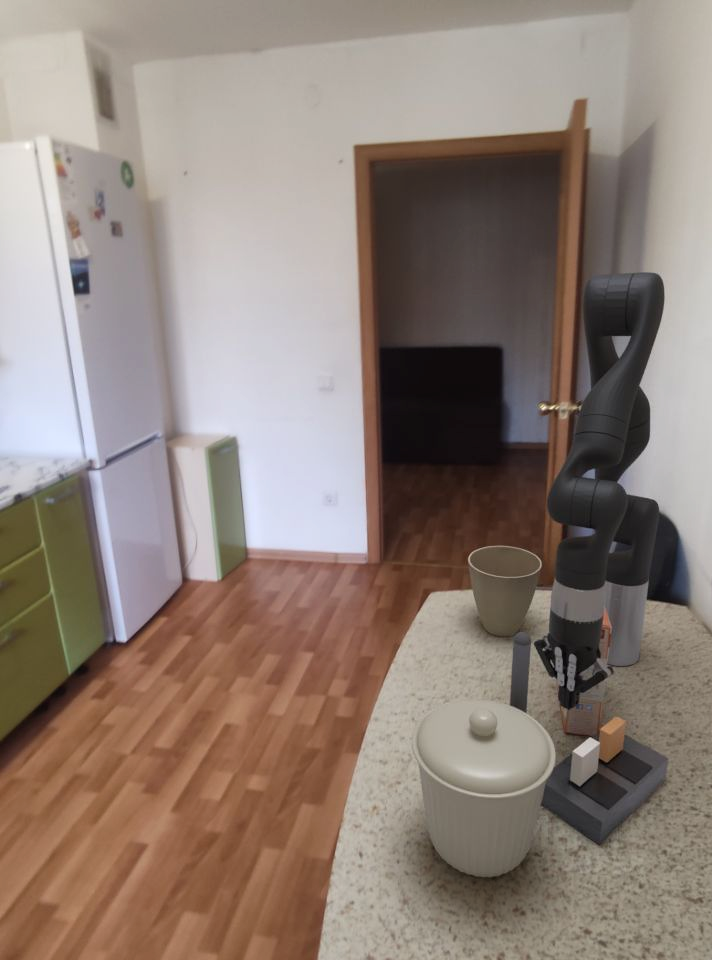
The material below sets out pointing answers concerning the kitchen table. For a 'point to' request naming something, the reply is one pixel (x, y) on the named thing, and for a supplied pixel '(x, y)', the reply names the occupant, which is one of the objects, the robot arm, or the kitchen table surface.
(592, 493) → the robot arm
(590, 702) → the cracker box
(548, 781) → the panel
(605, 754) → the block
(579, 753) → the white rectangular block
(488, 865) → the canister
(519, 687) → the stand
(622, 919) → the kitchen table surface
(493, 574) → the plant pot
